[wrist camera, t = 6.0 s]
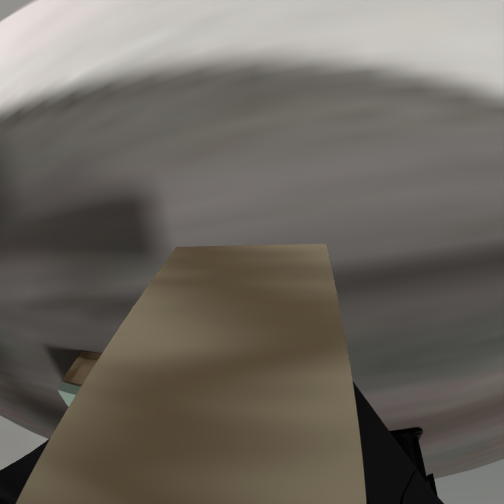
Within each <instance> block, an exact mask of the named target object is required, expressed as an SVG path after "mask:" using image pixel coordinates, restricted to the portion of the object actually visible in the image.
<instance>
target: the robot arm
mask: <svg viewBox="0 0 504 504" xmlns="http://www.w3.org/2000/svg"><path fill="white" fill-rule="evenodd" d="M353 388H354V395H355V402H356V409H357V416H358V424H359V432H360V440H361V449H362V459H363V469H364V479H365V491H366V504H444V503H443V502H442V501H441V500H440V499H439V498H438V496H437V491H436V486H435V481H434V477H433V473H432V474H429V475H428V476H426V472H425V467H424V462H423V458H422V453H421V449H420V445H419V441H418V440H419V439H420V437H421V435H422V433H423V430H422V428H418V429H412V430H406V431H399V432H391V433H390V432H389V430H388V429H387V428H386V426H385V425H384V423H383V422H382V421H381V419H380V418H379V417H378V415H377V414H376V412H375V411H374V410H373V408H372V407H371V405H370V404H369V403H368V401H367V400H366V399H365V397H364V396H363V394H362V393H361V392H360V390H359V389H358V388H357V386H356V385H355V383H354V382H353ZM49 440H50V439H49ZM49 440H47V441H46V442H45V443H43V444H42V445H40V446H39V447H38V448H36V449H35V450H33V451H32V452H31V453H29V454H27V455H26V456H24V457H22V458H21V459H19V460H18V461H16V462H15V463H12V464H11V465H9V466H7V467H5V468H4V469H2V470H0V504H16V502H17V500H18V498H19V496H20V494H21V492H22V490H23V488H24V486H25V484H26V482H27V480H28V479H29V477H30V475H31V473H32V471H33V469H34V467H35V465H36V464H37V462H38V460H39V458H40V456H41V454H42V453H43V451H44V449H45V447H46V445H47V444H48V442H49Z"/></svg>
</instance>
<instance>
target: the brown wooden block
mask: <svg viewBox="0 0 504 504" xmlns="http://www.w3.org/2000/svg"><path fill="white" fill-rule="evenodd" d="M16 504H366V491H365V479H364V469H363V459H362V449H361V440H360V432H359V424H358V416H357V409H356V402H355V395H354V388H353V381H352V375H351V369H350V363H349V357H348V351H347V345H346V339H345V334H344V328H343V323H342V318H341V312H340V307H339V302H338V297H337V292H336V288H335V283H334V278H333V273H332V269H331V264H330V260H329V255H328V251H327V246H326V244H288V245H243V246H201V247H176V248H175V249H174V251H173V252H172V254H171V255H170V256H169V258H168V259H167V260H166V262H165V263H164V265H163V266H162V267H161V269H160V270H159V271H158V273H157V274H156V276H155V277H154V278H153V280H152V281H151V283H150V284H149V285H148V287H147V288H146V290H145V291H144V293H143V294H142V295H141V297H140V298H139V300H138V301H137V303H136V304H135V305H134V307H133V308H132V310H131V311H130V313H129V314H128V316H127V317H126V319H125V320H124V321H123V323H122V324H121V326H120V327H119V329H118V330H117V332H116V333H115V335H114V336H113V338H112V339H111V341H110V342H109V344H108V345H107V347H106V349H105V350H104V352H103V353H102V355H101V356H100V358H99V359H98V361H97V362H96V364H95V366H94V367H93V369H92V370H91V372H90V373H89V375H88V377H87V378H86V380H85V381H84V383H83V385H82V386H81V388H80V389H79V391H78V393H77V394H76V396H75V398H74V399H73V401H72V403H71V404H70V406H69V407H68V409H67V411H66V413H65V414H64V416H63V418H62V419H61V421H60V423H59V424H58V426H57V428H56V430H55V431H54V433H53V435H52V437H51V438H50V440H49V442H48V444H47V445H46V447H45V449H44V451H43V453H42V454H41V456H40V458H39V460H38V462H37V464H36V465H35V467H34V469H33V471H32V473H31V475H30V477H29V479H28V480H27V482H26V484H25V486H24V488H23V490H22V492H21V494H20V496H19V498H18V500H17V502H16Z"/></svg>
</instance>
